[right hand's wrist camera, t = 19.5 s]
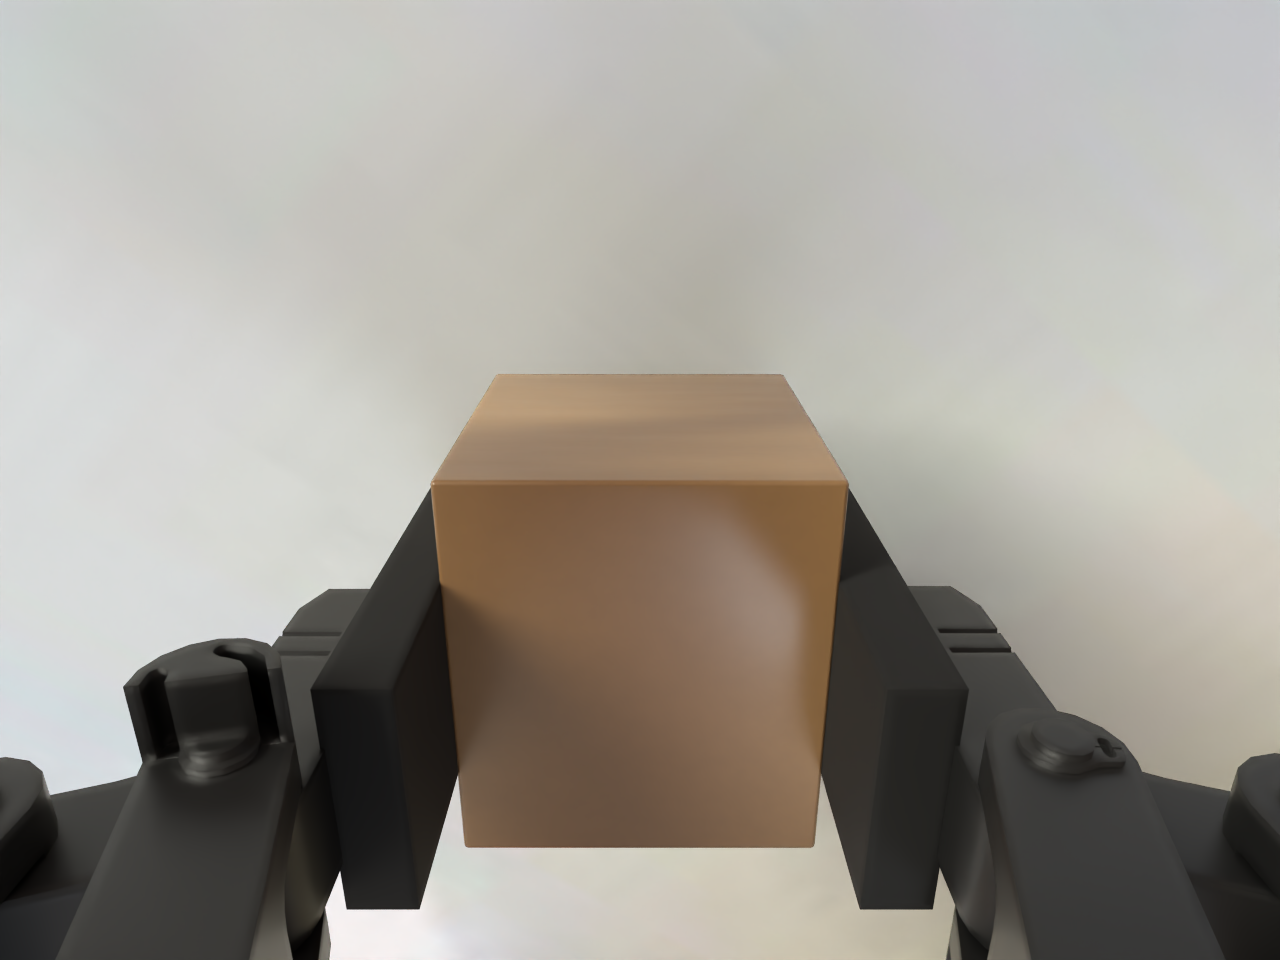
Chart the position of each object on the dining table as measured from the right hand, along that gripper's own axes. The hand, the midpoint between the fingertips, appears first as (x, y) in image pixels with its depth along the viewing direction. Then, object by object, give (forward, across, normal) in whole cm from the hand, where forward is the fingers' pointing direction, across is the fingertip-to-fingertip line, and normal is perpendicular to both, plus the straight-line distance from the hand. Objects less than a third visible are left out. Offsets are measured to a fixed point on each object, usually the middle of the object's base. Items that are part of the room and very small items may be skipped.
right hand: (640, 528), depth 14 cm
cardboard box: (0, 0, 0) cm, 0 cm away
